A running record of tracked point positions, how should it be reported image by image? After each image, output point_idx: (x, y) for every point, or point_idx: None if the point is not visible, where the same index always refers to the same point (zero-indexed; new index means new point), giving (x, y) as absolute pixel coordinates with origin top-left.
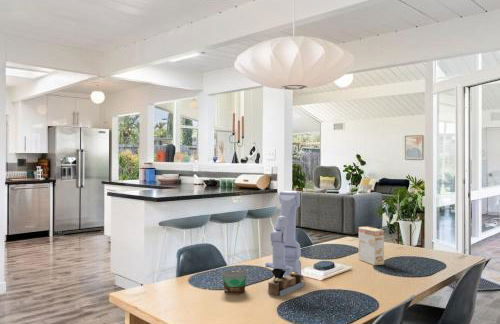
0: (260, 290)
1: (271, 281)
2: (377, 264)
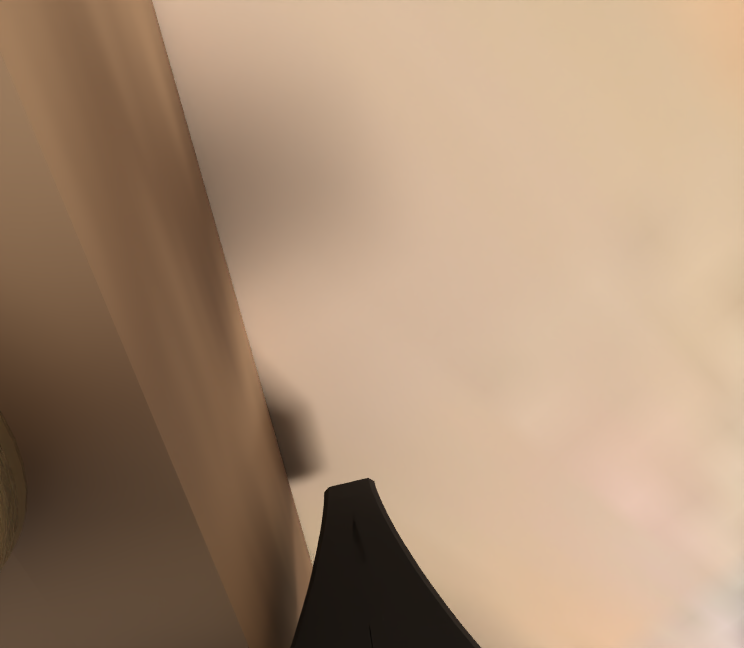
0: (515, 18)
1: (3, 194)
2: None
